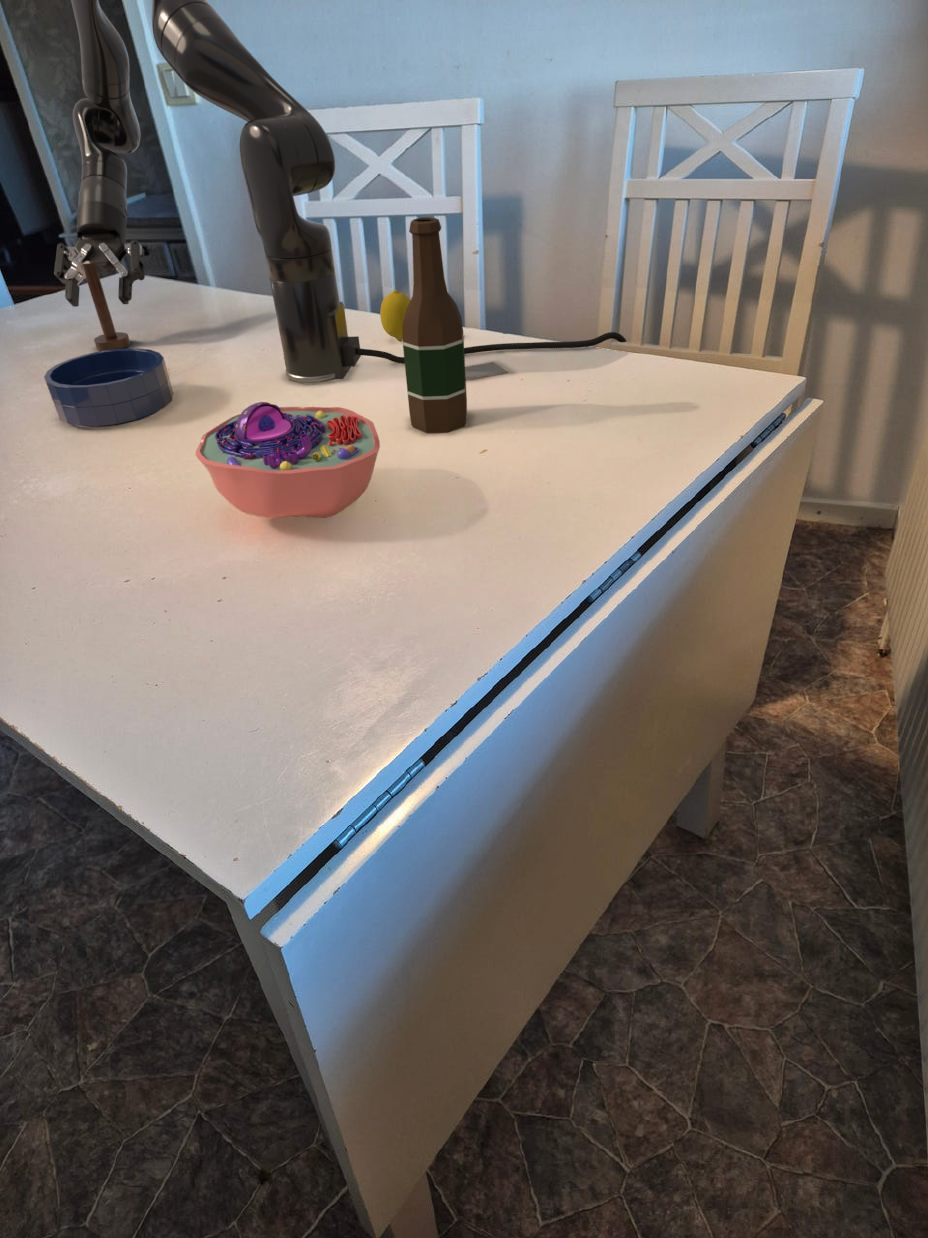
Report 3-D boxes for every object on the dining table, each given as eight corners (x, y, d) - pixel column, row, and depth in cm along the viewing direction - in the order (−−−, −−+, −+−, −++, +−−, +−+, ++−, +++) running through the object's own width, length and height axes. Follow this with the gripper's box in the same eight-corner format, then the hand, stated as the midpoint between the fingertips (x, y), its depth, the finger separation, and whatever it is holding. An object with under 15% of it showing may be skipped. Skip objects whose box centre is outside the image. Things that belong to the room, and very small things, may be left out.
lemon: (412, 346, 131) (407, 294, 126) (379, 345, 132) (373, 294, 127) (420, 335, 135) (416, 285, 130) (388, 335, 136) (383, 285, 131)
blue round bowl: (190, 387, 120) (180, 347, 117) (147, 430, 108) (134, 386, 104) (92, 388, 122) (79, 349, 119) (38, 431, 110) (21, 387, 106)
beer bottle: (479, 414, 106) (470, 213, 92) (453, 438, 101) (440, 227, 86) (426, 407, 109) (410, 211, 95) (398, 430, 104) (377, 225, 89)
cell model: (323, 568, 78) (303, 459, 71) (180, 521, 87) (150, 421, 80) (422, 493, 89) (413, 394, 82) (286, 459, 98) (268, 367, 91)
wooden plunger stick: (136, 340, 141) (112, 257, 133) (122, 351, 137) (96, 265, 128) (105, 341, 142) (80, 258, 134) (90, 352, 137) (63, 266, 129)
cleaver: (509, 376, 119) (494, 366, 123) (509, 368, 118) (494, 357, 122) (425, 390, 114) (412, 378, 118) (425, 381, 114) (412, 370, 117)
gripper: (49, 201, 133) (43, 292, 131) (133, 196, 132) (130, 288, 130) (73, 229, 140) (68, 316, 138) (153, 225, 140) (150, 312, 137)
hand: (98, 302), depth 134 cm, fingers open, 8 cm apart
